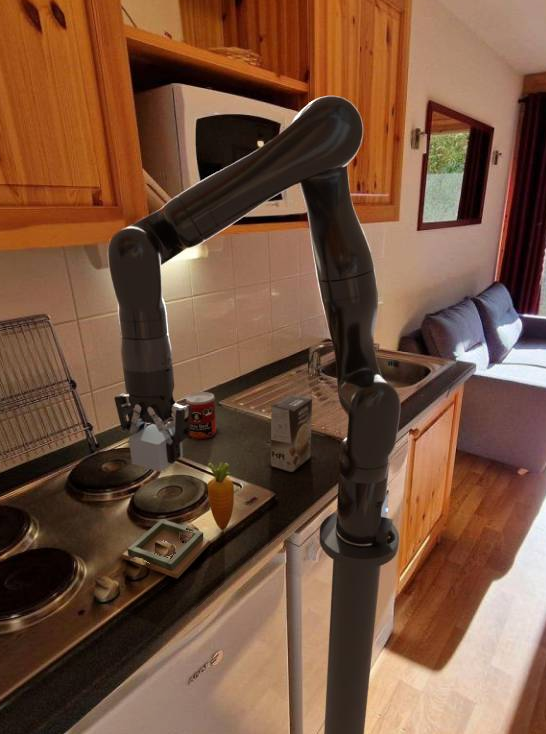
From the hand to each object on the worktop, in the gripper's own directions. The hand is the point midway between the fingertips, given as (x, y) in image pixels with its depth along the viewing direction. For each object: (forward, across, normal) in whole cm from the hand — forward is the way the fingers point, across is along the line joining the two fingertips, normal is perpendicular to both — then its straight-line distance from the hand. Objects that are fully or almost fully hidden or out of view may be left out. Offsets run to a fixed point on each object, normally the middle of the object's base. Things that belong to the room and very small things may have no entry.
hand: (157, 456), depth 81 cm
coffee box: (+20, +7, +40) cm, 45 cm away
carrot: (+20, +6, +9) cm, 23 cm away
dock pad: (+19, 0, 0) cm, 19 cm away
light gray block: (+1, 0, 0) cm, 1 cm away
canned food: (+20, -22, +44) cm, 53 cm away
